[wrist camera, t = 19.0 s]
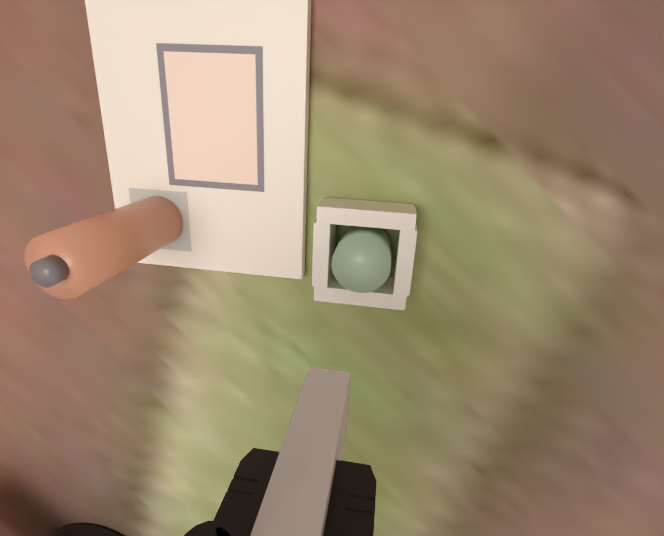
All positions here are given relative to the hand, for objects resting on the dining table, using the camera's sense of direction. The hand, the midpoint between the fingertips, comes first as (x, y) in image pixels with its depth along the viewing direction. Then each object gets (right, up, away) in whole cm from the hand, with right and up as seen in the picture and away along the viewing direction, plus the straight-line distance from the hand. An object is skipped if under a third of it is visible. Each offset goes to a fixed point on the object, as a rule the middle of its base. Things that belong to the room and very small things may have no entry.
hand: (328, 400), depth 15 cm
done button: (+3, +6, +17) cm, 19 cm away
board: (-10, +14, +17) cm, 24 cm away
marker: (-14, +9, +19) cm, 25 cm away
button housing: (+3, +7, +18) cm, 19 cm away
